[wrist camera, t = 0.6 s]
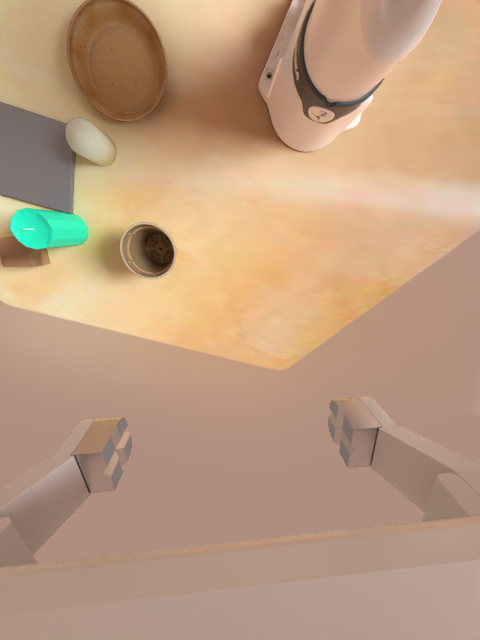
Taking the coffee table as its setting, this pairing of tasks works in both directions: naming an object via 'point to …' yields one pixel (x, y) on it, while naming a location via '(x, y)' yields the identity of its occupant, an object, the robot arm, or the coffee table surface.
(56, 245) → the candle
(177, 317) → the coffee table surface
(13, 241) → the walnut cube
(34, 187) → the coaster
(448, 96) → the coffee table surface
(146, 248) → the flower pot
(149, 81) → the plant saucer
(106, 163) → the white rounded capsule
